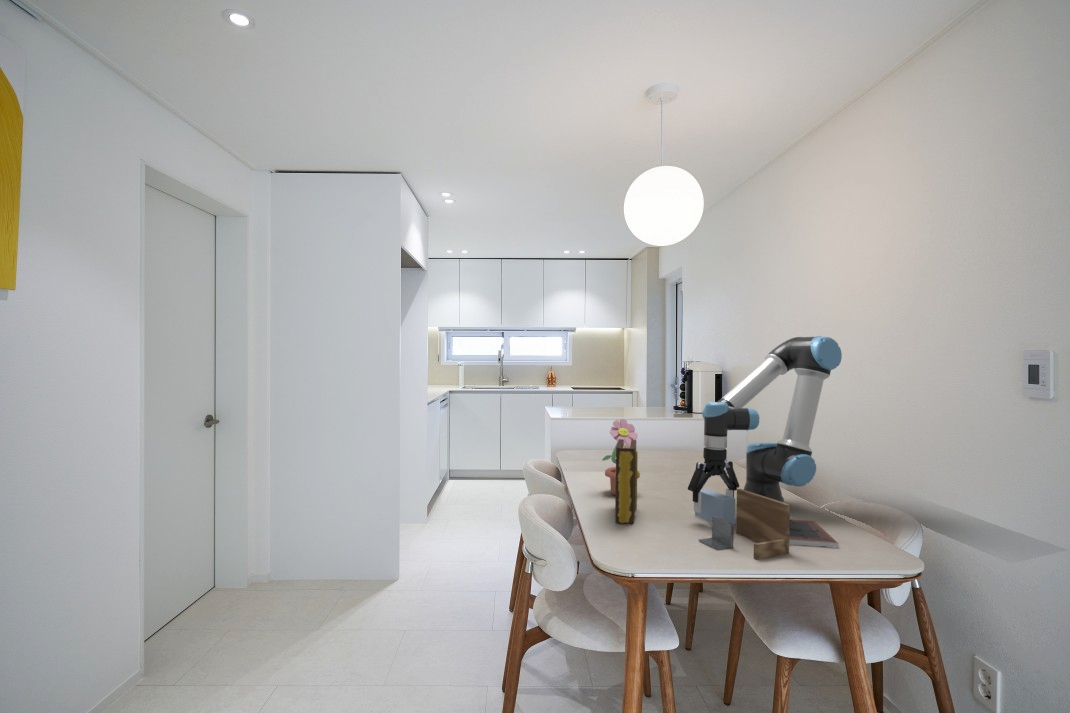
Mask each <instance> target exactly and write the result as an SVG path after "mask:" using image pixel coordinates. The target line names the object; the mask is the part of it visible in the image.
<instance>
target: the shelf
mask: <svg viewBox="0 0 1070 713" xmlns="http://www.w3.org/2000/svg"><path fill="white" fill-rule="evenodd" d="M790 507H791V504H789V503H786V502H785V501H784V502H780V501H777V500H774V499H771V498H768V497H765V496H762V495H758V494H755V493H752V492H749V491H746V490H744V488H743V489H742V488H737V490H736V511H735V534H737V535H739V536H742V537H744V538H746V539H748V540H751V541H753V542H755V543H753V559H755V560H762V559H765V558H767V559H768V558H771V557H777V556H782V555H788V554H790V545H789V524H790V519H791V516H790V512H791V511H790V510H791V508H790Z"/></svg>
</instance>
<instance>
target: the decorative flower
mask: <svg viewBox="0 0 1070 713" xmlns="http://www.w3.org/2000/svg"><path fill="white" fill-rule="evenodd" d="M612 425H613V426H611V428H610V430H609V434H610V435H611V437H612V438H613V439H614V440H615V441H616V443H615V446H614V448H613V451H612V453H611V454H609V455H605V456H604V457H603V458H602V460H601V461H603V462H604V461H609V459H610V460H611V462H612V463H613V464H615V465H616V446H617V443H618V440H619V439H623V440H624V445H631V440H636V441H637V439H638V435H639V434H638V433H637V432H636V428H635V426H634V424H632V423H628V420H627V419H625V418H620V419H615V420H614V421H613V422H612ZM615 471H616V466H612V467H608V468H606V469H605V471H604V475H605V477H607V478H609V484H610V492H611V494H612V495H614V496H615V495H616V476H615ZM640 477H641V473H640V472H639V478H640Z"/></svg>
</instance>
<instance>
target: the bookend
mask: <svg viewBox="0 0 1070 713" xmlns="http://www.w3.org/2000/svg"><path fill="white" fill-rule="evenodd" d="M734 528H735V526H734V524H733V523H731V522H728V521H726V520H723V519H721V518H719V517H716V516H712V522H711V537H706V538H699V539H698V542H700V543H702V544H704V545H706V546H708V547H710V548H712V549H714V550H716V551H720V550H726V549H727V550H728V549H733V548H734V534H735V533H734V532H735V530H734Z"/></svg>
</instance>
